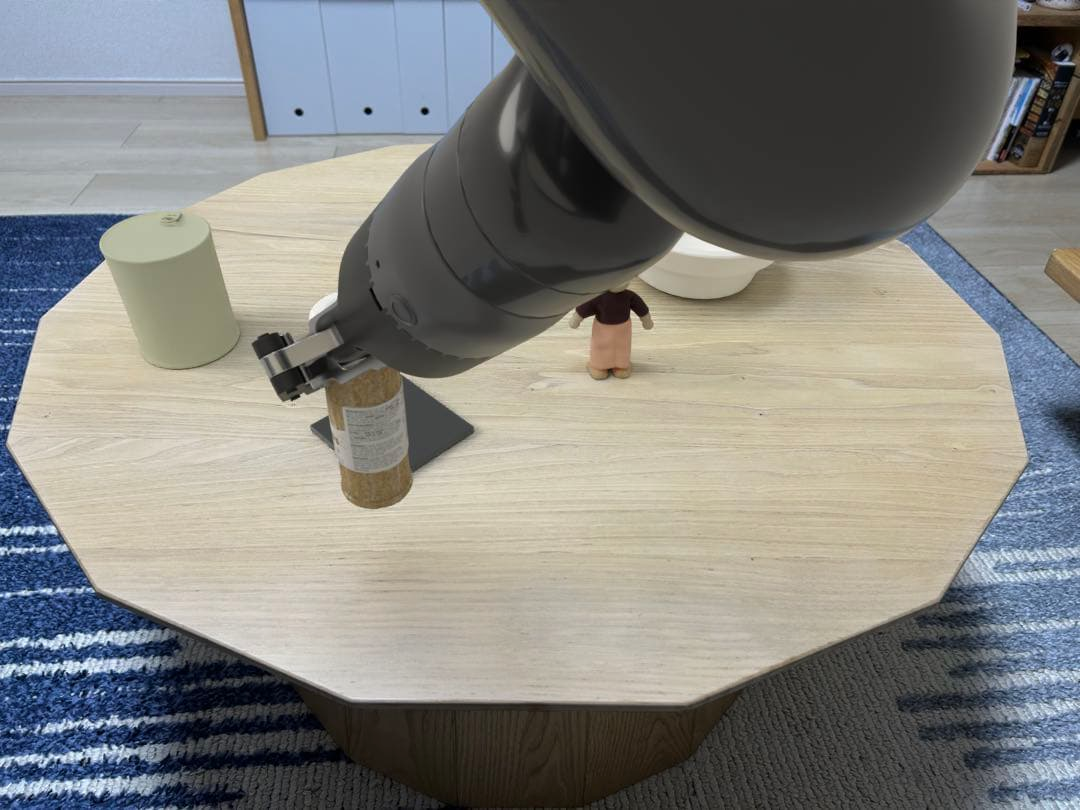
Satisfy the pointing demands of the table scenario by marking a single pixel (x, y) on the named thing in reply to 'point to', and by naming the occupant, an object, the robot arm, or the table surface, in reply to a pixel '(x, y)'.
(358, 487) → the sprinkles bottle
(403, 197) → the robot arm
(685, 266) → the bowl
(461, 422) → the slate coaster
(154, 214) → the can
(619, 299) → the grandmother figurine
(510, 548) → the table surface
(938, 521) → the table surface
